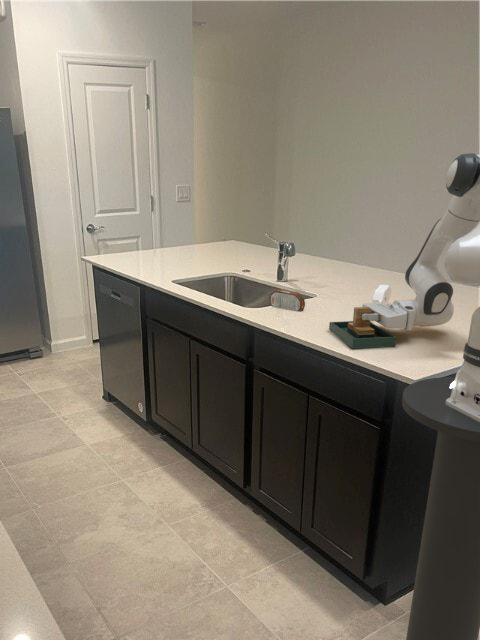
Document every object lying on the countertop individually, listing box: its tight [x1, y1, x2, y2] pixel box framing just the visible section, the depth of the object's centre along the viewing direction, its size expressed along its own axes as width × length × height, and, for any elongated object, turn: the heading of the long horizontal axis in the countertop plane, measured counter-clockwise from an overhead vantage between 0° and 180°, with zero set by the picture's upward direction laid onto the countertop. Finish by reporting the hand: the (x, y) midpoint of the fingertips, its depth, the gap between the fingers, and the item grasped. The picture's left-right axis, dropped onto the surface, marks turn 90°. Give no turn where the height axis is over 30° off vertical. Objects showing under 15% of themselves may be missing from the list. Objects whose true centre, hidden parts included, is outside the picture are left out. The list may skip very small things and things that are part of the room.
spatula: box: [370, 284, 392, 323], centre depth 200 cm, size 38×8×4 cm
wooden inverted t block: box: [347, 306, 375, 338], centre depth 176 cm, size 10×5×9 cm, turn 6°
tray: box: [328, 320, 397, 349], centre depth 177 cm, size 22×14×3 cm, turn 6°
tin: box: [269, 288, 306, 312], centre depth 212 cm, size 15×3×8 cm, turn 47°
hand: (359, 315), depth 175 cm, fingers closed on wooden inverted t block, 2 cm apart
